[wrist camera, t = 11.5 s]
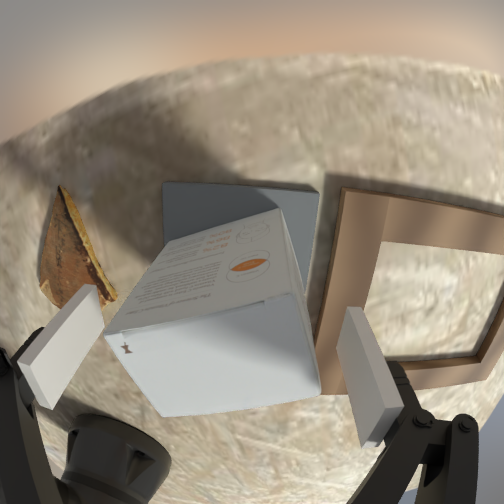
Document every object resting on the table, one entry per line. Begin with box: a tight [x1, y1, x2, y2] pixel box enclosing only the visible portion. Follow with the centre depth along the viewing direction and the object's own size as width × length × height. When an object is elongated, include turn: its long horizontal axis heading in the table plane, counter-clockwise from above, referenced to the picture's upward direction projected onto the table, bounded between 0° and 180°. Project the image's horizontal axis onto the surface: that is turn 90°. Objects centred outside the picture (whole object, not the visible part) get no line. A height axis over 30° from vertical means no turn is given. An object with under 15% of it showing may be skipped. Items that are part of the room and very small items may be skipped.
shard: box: [40, 185, 117, 311], centre depth 22 cm, size 11×8×2 cm
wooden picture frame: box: [313, 187, 504, 395], centre depth 22 cm, size 22×18×1 cm
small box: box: [103, 208, 321, 418], centre depth 16 cm, size 8×6×10 cm
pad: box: [162, 182, 320, 293], centre depth 21 cm, size 10×10×1 cm
